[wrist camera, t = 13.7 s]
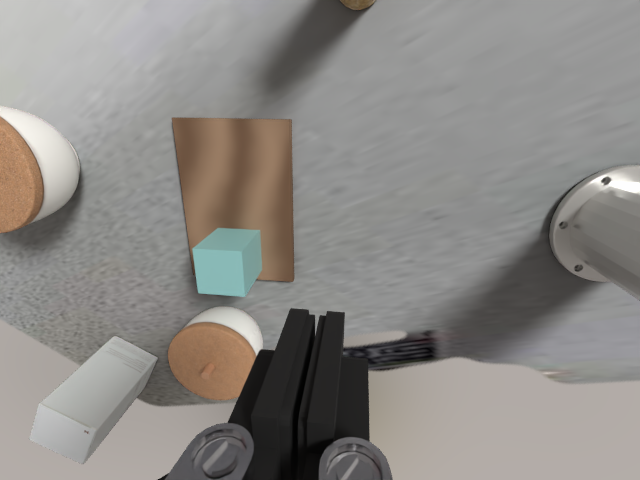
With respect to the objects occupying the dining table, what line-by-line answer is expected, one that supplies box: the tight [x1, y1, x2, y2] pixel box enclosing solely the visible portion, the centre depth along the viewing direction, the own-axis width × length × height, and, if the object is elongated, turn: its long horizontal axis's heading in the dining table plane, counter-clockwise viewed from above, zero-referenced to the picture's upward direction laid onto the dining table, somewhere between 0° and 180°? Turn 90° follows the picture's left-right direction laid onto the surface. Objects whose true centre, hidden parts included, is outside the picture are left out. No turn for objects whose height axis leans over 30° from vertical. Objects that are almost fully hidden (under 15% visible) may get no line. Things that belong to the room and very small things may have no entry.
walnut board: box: [172, 118, 294, 282], centre depth 40 cm, size 13×19×1 cm
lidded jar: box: [168, 306, 263, 400], centre depth 42 cm, size 11×11×9 cm
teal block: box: [192, 228, 262, 297], centre depth 38 cm, size 5×5×7 cm
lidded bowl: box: [0, 106, 80, 233], centre depth 36 cm, size 13×13×11 cm
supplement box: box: [29, 336, 158, 464], centre depth 45 cm, size 7×7×13 cm
